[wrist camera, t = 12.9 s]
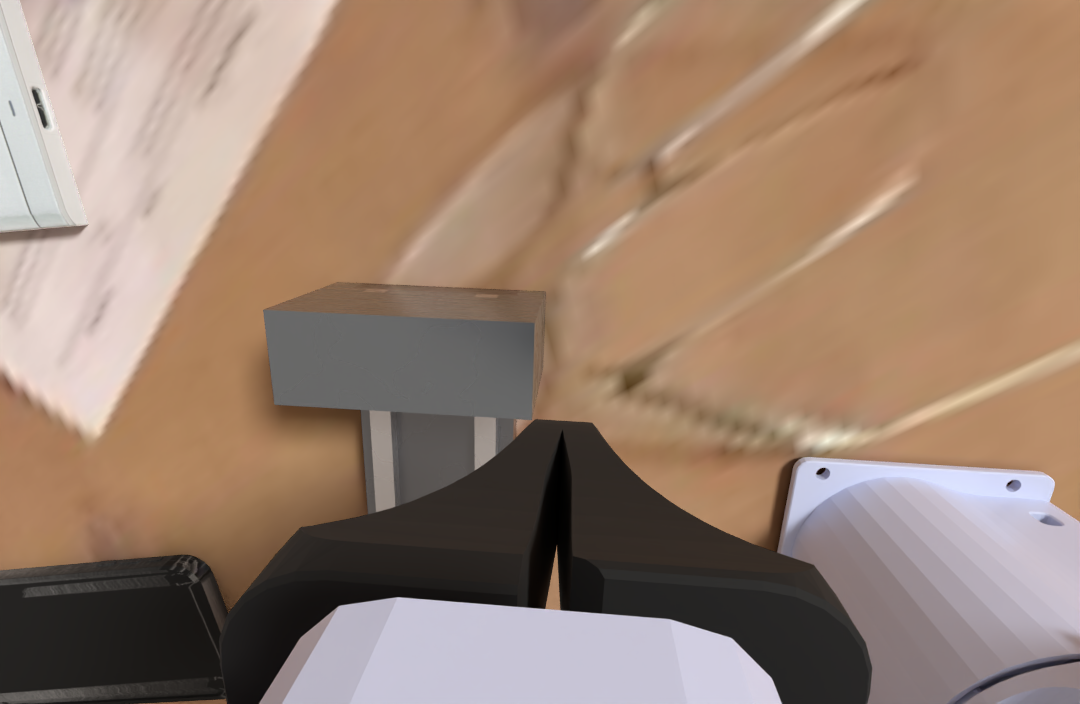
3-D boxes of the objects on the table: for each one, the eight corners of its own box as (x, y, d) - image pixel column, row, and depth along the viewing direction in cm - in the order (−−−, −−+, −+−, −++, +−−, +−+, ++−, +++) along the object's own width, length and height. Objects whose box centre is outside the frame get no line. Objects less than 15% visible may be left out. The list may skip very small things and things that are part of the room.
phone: (245, 697, 26) (-23, 712, 28) (258, 678, 27) (0, 693, 29) (193, 561, 24) (-94, 586, 26) (209, 545, 25) (-67, 570, 27)
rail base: (545, 291, 20) (531, 331, 14) (525, 849, 29) (512, 1013, 23) (337, 282, 20) (242, 317, 15) (380, 833, 29) (331, 990, 23)
